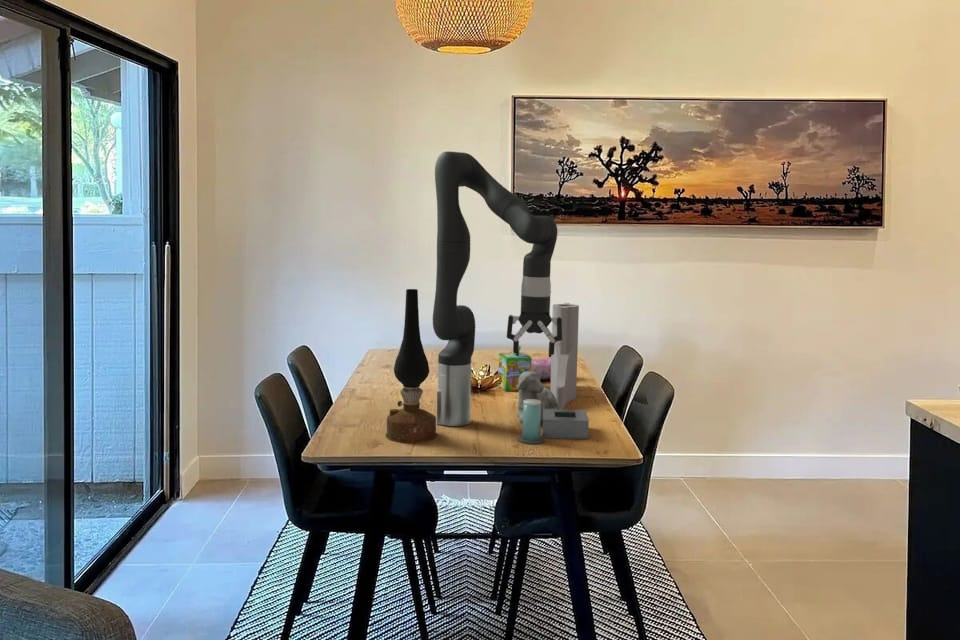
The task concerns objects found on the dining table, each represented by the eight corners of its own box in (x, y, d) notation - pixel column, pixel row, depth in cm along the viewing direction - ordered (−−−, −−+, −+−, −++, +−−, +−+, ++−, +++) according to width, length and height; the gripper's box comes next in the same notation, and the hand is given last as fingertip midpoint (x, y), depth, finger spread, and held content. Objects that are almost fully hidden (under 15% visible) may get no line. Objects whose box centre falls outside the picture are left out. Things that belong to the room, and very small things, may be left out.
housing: (542, 437, 226) (543, 419, 225) (542, 426, 238) (542, 408, 237) (588, 439, 225) (588, 420, 224) (585, 427, 237) (585, 410, 236)
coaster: (517, 443, 220) (517, 441, 220) (518, 436, 227) (518, 434, 227) (544, 444, 219) (545, 442, 219) (544, 437, 226) (544, 435, 226)
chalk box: (497, 386, 290) (498, 343, 288) (522, 385, 292) (523, 342, 290) (505, 391, 281) (506, 347, 279) (531, 390, 283) (532, 347, 281)
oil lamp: (445, 449, 226) (479, 303, 222) (401, 449, 215) (436, 296, 212) (412, 432, 236) (445, 292, 232) (369, 432, 225) (402, 285, 221)
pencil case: (559, 376, 308) (560, 352, 307) (572, 381, 300) (572, 356, 299) (506, 380, 300) (507, 355, 298) (518, 385, 291) (518, 360, 290)
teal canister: (522, 440, 221) (523, 402, 220) (522, 435, 225) (523, 398, 224) (540, 440, 221) (541, 403, 219) (539, 436, 225) (540, 399, 224)
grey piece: (572, 411, 256) (575, 312, 252) (545, 409, 257) (547, 311, 253) (578, 386, 291) (581, 299, 287) (554, 385, 293) (556, 299, 289)
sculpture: (513, 426, 238) (514, 373, 236) (524, 409, 258) (525, 360, 256) (552, 428, 236) (553, 375, 234) (560, 411, 256) (561, 362, 254)
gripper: (507, 294, 214) (505, 357, 217) (564, 296, 214) (561, 359, 216) (508, 291, 222) (506, 352, 224) (563, 293, 221) (560, 354, 223)
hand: (533, 355), depth 220 cm, fingers open, 8 cm apart
